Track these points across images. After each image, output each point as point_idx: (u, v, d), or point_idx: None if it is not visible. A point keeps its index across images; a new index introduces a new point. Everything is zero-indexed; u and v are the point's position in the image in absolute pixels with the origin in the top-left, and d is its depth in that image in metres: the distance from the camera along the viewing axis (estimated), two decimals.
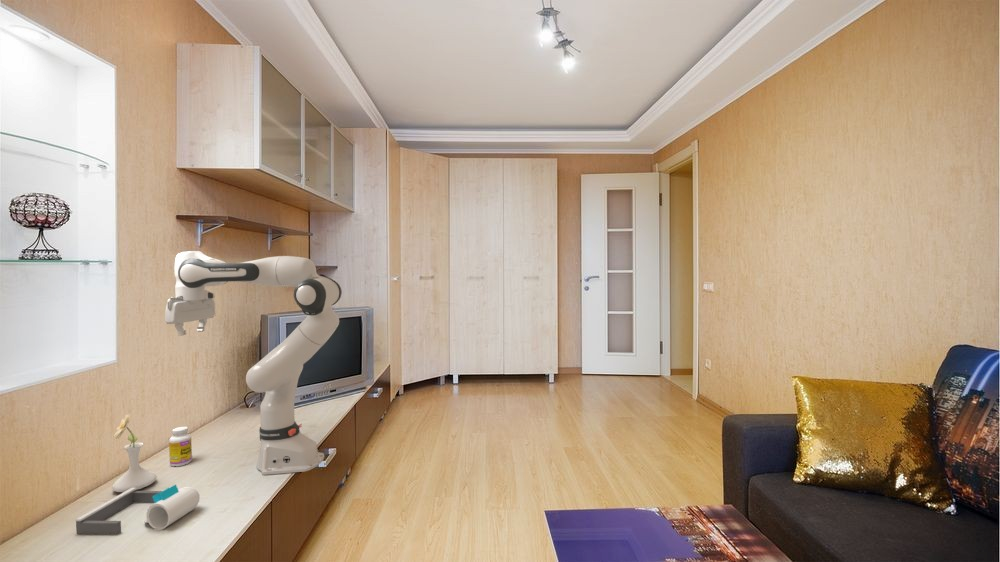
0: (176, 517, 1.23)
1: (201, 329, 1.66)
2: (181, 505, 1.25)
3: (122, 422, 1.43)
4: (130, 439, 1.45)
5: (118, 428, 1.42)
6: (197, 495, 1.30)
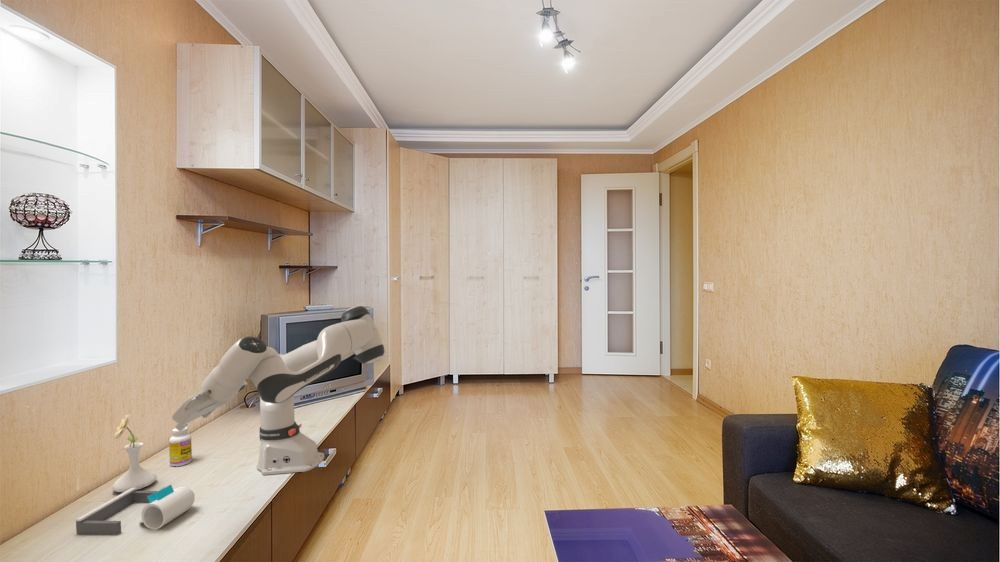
0: (171, 517, 1.23)
1: (206, 415, 1.30)
2: (176, 505, 1.25)
3: (122, 422, 1.43)
4: (130, 439, 1.45)
5: (118, 428, 1.42)
6: (192, 495, 1.30)
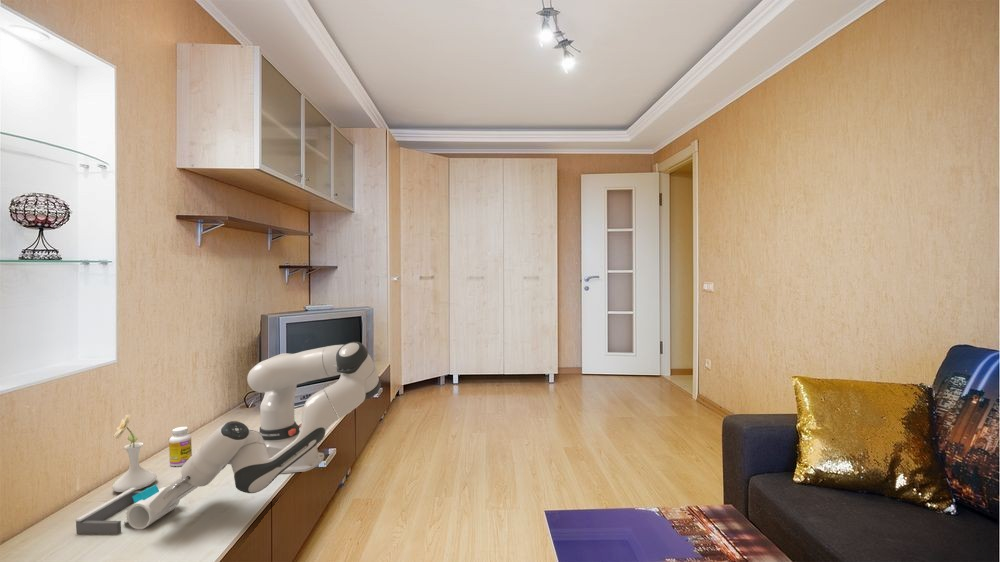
0: (157, 516, 1.23)
1: (172, 503, 1.26)
2: None
3: (122, 422, 1.43)
4: (130, 439, 1.45)
5: (118, 428, 1.42)
6: None
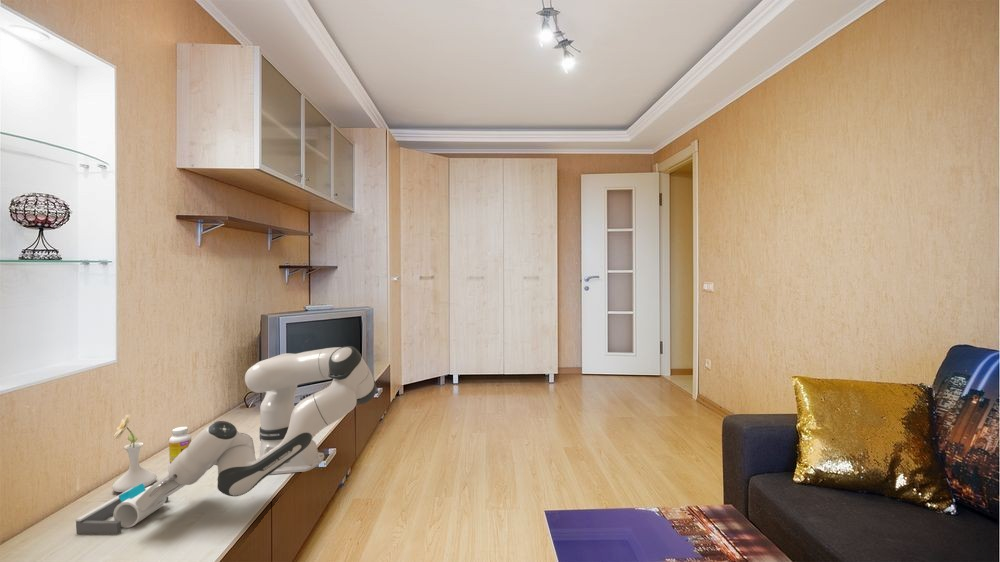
0: (145, 514, 1.24)
1: (160, 500, 1.28)
2: None
3: (122, 422, 1.43)
4: (130, 439, 1.45)
5: (118, 428, 1.42)
6: None
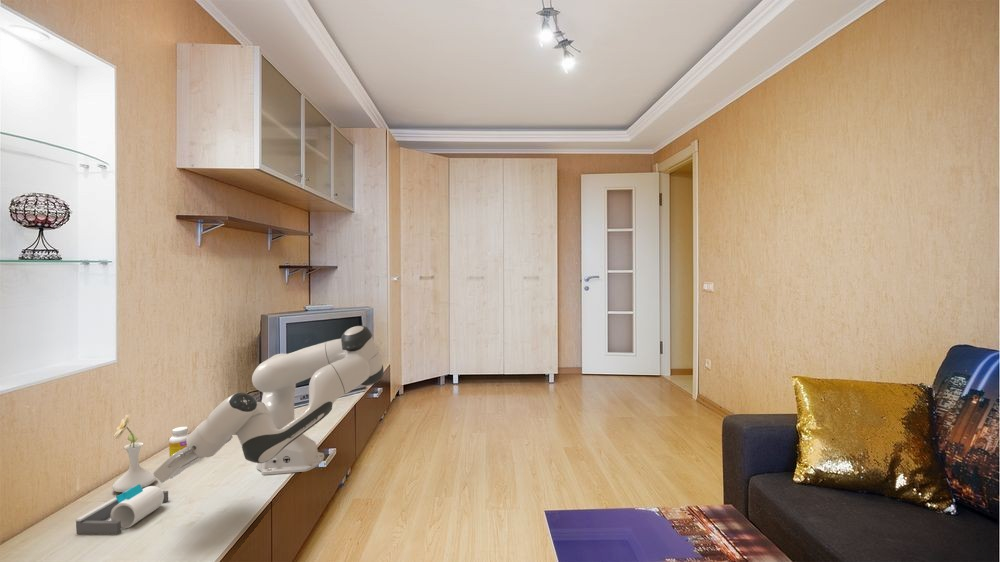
0: (142, 515, 1.24)
1: (176, 474, 1.25)
2: (147, 503, 1.26)
3: (122, 422, 1.43)
4: (130, 439, 1.45)
5: (118, 428, 1.42)
6: (162, 494, 1.32)
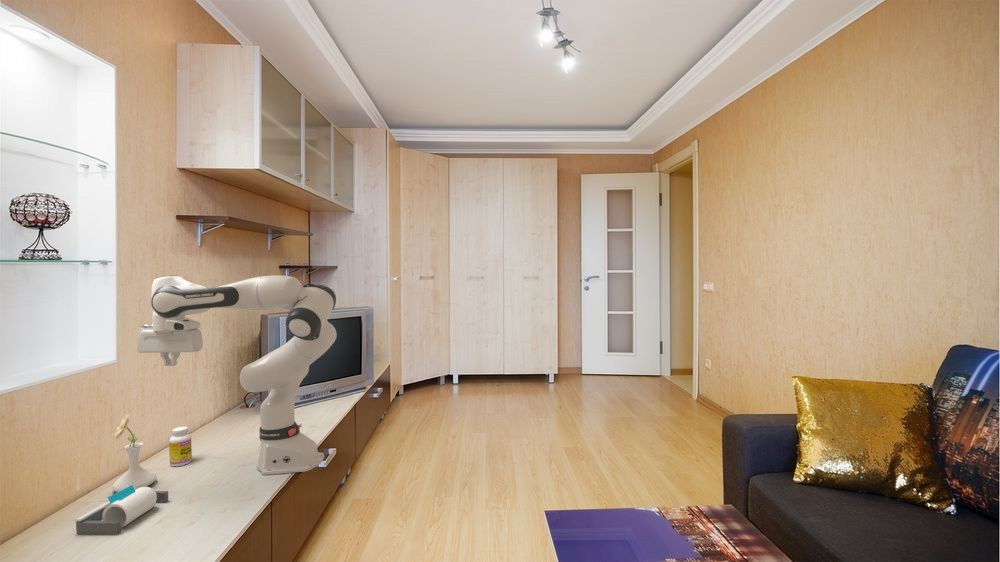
0: (134, 516, 1.24)
1: None
2: (139, 504, 1.25)
3: (122, 422, 1.43)
4: (130, 439, 1.45)
5: (118, 428, 1.42)
6: (155, 494, 1.31)
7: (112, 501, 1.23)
